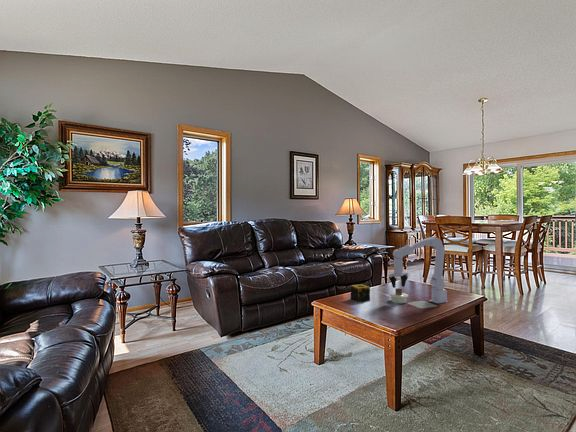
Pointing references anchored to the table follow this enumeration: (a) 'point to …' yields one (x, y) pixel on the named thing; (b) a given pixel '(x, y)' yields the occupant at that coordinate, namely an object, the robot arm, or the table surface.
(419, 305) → the mat
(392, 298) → the bowl
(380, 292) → the table surface
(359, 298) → the candle
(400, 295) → the lid
